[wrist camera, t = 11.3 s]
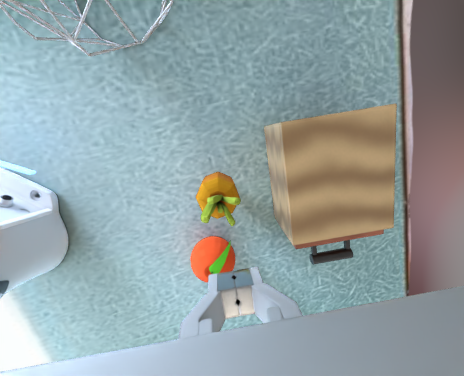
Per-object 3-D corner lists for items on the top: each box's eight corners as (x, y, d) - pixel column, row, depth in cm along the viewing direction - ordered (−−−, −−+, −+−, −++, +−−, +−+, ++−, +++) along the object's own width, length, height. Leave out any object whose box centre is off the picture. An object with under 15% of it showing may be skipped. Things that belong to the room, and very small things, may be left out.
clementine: (211, 216, 35) (210, 235, 29) (245, 237, 37) (251, 261, 30) (185, 252, 37) (177, 279, 30) (218, 272, 38) (218, 302, 31)
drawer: (351, 239, 37) (383, 263, 30) (283, 251, 37) (298, 279, 30) (348, 128, 33) (385, 126, 25) (270, 141, 32) (285, 142, 25)
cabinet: (351, 205, 37) (393, 227, 28) (274, 218, 36) (293, 245, 27) (348, 112, 33) (396, 103, 24) (263, 126, 33) (280, 122, 24)
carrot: (234, 164, 34) (246, 185, 19) (233, 195, 35) (243, 237, 20) (202, 163, 33) (189, 185, 19) (202, 194, 35) (190, 237, 20)
